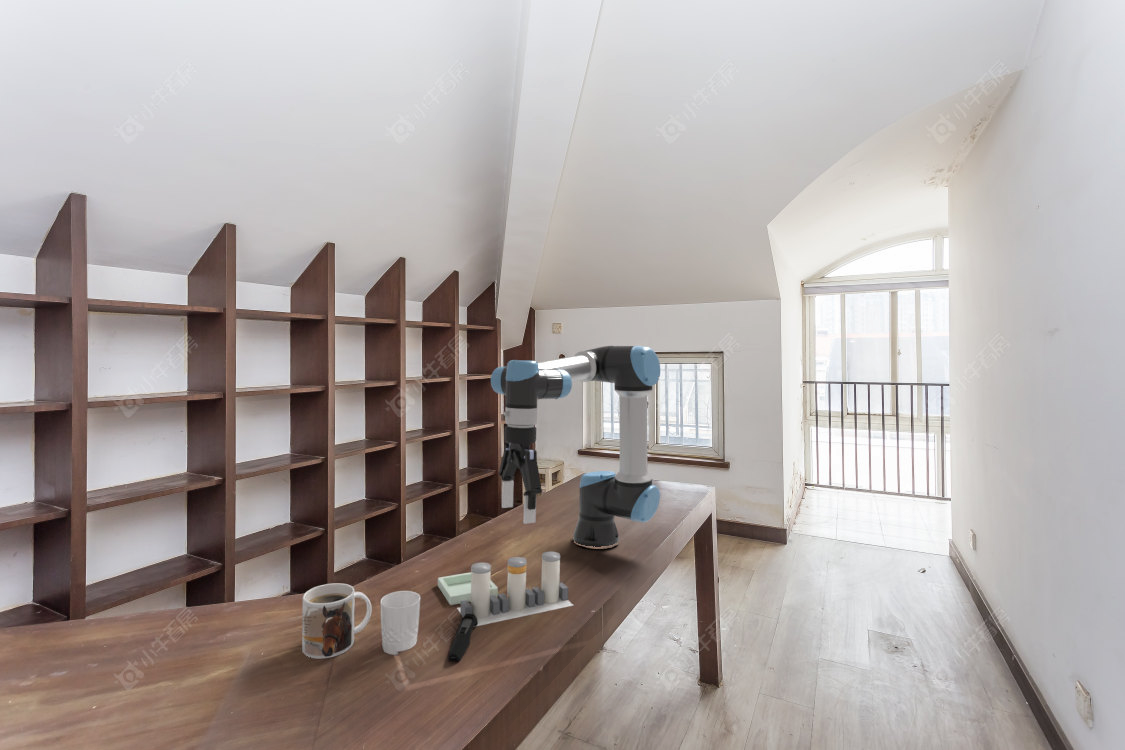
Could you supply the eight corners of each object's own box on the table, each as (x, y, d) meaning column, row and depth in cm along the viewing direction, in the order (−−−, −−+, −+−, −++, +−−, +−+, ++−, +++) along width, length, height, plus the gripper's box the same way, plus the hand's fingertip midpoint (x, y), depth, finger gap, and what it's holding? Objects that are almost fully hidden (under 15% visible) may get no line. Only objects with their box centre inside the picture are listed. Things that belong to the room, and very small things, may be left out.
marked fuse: (521, 600, 131) (522, 555, 131) (528, 608, 127) (529, 562, 127) (503, 604, 129) (504, 558, 129) (510, 612, 125) (512, 565, 125)
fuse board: (555, 591, 139) (555, 577, 139) (574, 608, 130) (574, 593, 130) (456, 611, 127) (456, 595, 127) (469, 631, 118) (469, 614, 118)
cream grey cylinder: (553, 594, 136) (555, 550, 135) (562, 601, 132) (563, 556, 131) (537, 597, 134) (539, 553, 133) (545, 605, 130) (546, 559, 129)
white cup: (389, 661, 106) (390, 611, 105) (373, 644, 111) (374, 597, 111) (426, 648, 111) (427, 600, 110) (409, 632, 117) (410, 587, 116)
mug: (318, 630, 116) (318, 580, 116) (373, 633, 116) (373, 582, 116) (292, 658, 106) (293, 602, 105) (352, 660, 105) (353, 605, 105)
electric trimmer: (442, 668, 104) (442, 652, 104) (462, 622, 120) (462, 609, 119) (461, 669, 104) (462, 654, 104) (479, 623, 119) (479, 610, 119)
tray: (482, 580, 144) (482, 570, 144) (497, 599, 134) (498, 588, 134) (437, 588, 139) (437, 577, 139) (450, 608, 128) (450, 596, 128)
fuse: (486, 607, 127) (487, 561, 127) (492, 616, 123) (493, 568, 123) (467, 611, 125) (468, 564, 125) (473, 620, 121) (474, 571, 121)
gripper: (487, 419, 136) (485, 502, 137) (527, 433, 114) (524, 532, 115) (515, 419, 140) (512, 500, 140) (558, 432, 117) (555, 528, 118)
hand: (517, 514), depth 127 cm, fingers open, 13 cm apart
